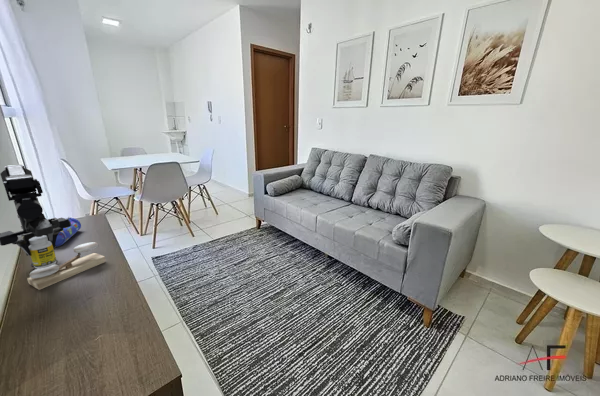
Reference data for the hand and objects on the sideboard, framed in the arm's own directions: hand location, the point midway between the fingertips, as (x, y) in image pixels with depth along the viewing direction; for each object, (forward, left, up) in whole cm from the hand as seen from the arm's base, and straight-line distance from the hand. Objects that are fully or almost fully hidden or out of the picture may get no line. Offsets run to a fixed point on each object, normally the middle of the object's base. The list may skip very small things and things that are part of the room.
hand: (41, 251), depth 92 cm
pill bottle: (0, 0, -6) cm, 6 cm away
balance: (-1, +6, -13) cm, 14 cm away
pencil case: (-41, +22, -13) cm, 48 cm away
